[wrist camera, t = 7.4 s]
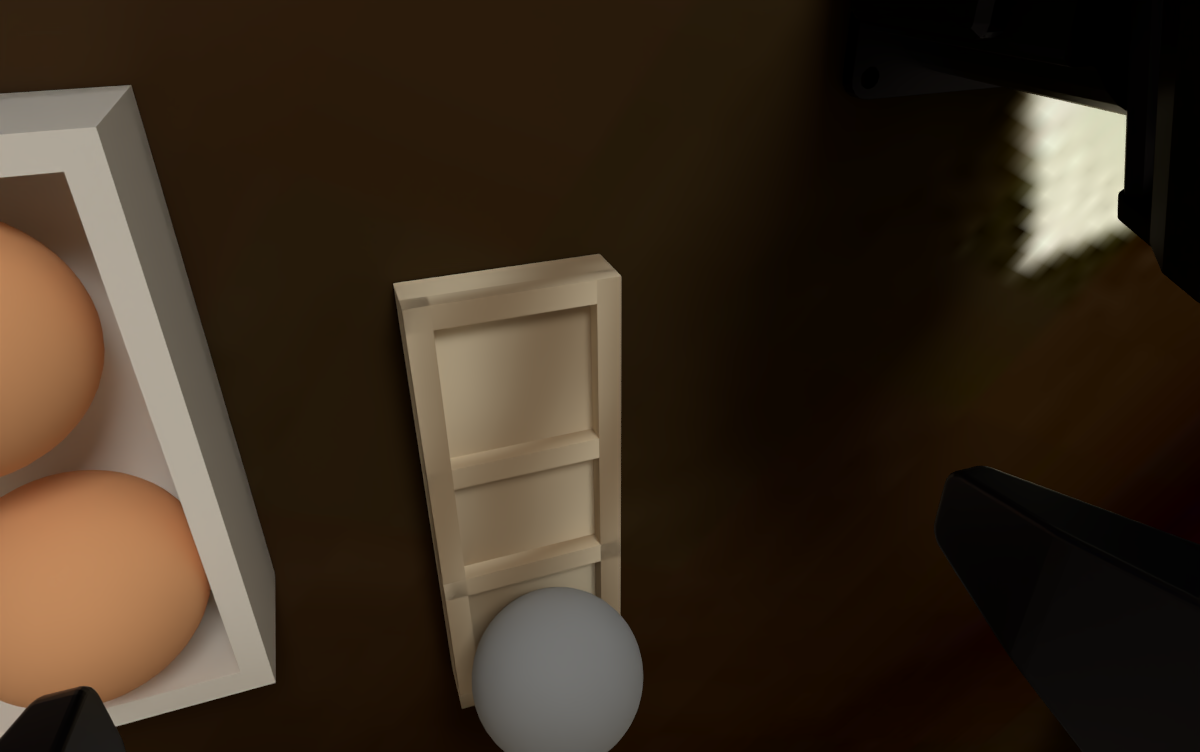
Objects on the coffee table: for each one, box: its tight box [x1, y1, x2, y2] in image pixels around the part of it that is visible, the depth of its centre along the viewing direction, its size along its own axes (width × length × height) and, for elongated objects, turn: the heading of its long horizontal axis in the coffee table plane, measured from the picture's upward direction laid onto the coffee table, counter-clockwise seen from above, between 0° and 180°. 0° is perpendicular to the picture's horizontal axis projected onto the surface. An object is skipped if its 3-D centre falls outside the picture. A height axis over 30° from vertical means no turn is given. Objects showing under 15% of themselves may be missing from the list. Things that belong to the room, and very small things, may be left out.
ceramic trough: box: [0, 85, 276, 738], centre depth 15 cm, size 7×12×4 cm, turn 1°
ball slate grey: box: [472, 587, 643, 752], centre depth 21 cm, size 5×5×5 cm
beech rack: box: [393, 254, 621, 709], centre depth 21 cm, size 5×13×2 cm, turn 1°
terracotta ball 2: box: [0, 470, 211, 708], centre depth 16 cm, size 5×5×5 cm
